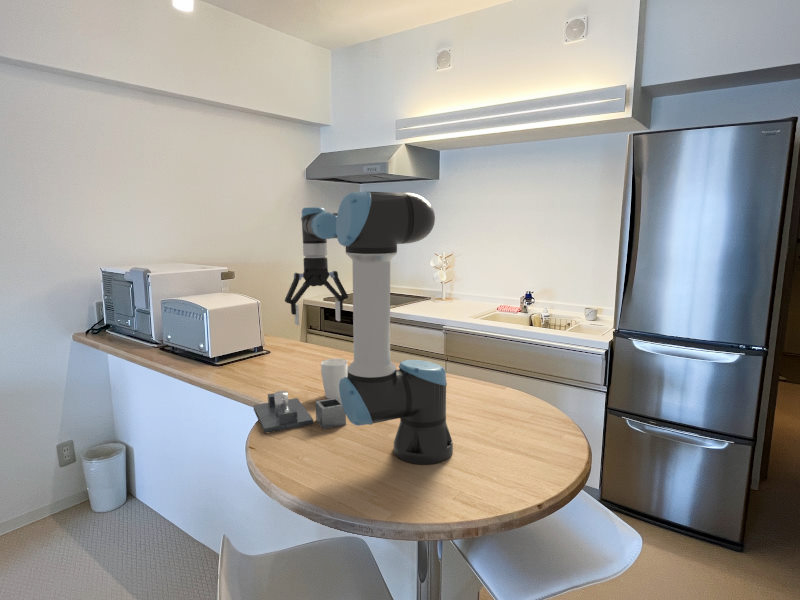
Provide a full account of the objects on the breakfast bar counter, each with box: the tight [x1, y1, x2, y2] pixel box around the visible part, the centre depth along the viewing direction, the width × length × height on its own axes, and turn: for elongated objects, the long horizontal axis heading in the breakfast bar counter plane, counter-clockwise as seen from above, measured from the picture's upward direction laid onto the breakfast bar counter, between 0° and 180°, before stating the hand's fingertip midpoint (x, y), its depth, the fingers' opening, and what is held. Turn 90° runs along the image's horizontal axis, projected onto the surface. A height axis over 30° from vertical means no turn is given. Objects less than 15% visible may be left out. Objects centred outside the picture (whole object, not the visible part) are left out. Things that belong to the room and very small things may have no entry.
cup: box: [320, 358, 349, 400], centre depth 164 cm, size 9×9×12 cm
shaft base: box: [253, 390, 314, 434], centre depth 147 cm, size 20×14×8 cm
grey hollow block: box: [315, 398, 347, 430], centre depth 142 cm, size 7×7×6 cm
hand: (317, 322), depth 157 cm, fingers open, 13 cm apart
